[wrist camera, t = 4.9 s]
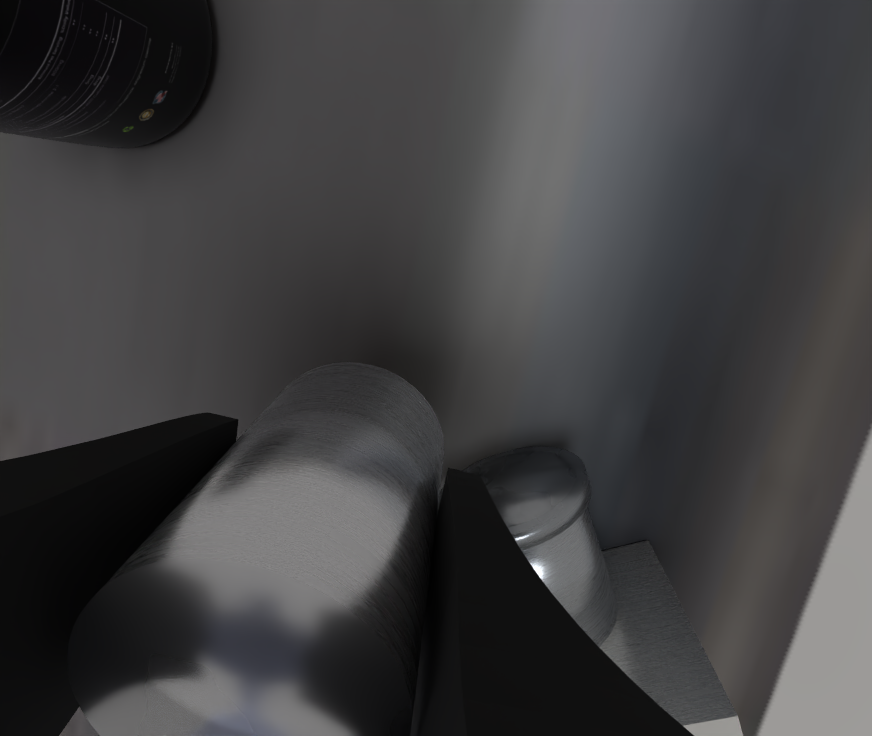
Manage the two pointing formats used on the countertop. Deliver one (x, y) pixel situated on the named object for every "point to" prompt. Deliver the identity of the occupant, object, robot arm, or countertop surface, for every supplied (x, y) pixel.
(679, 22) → the countertop surface
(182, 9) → the supplement bottle
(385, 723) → the elbow
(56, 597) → the robot arm
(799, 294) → the countertop surface
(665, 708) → the duct stub
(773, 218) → the countertop surface
